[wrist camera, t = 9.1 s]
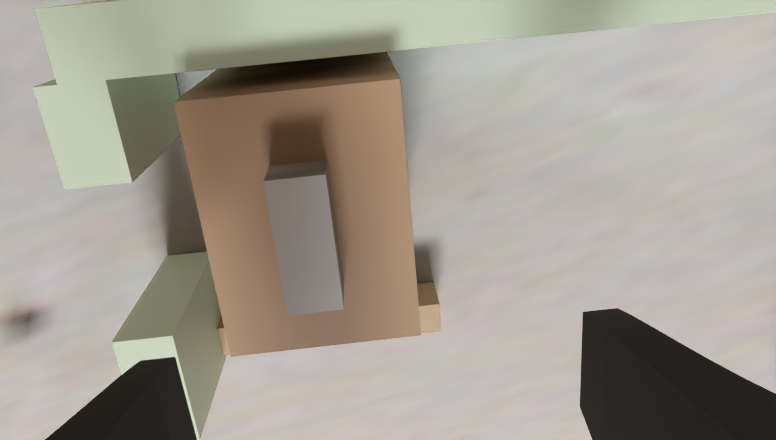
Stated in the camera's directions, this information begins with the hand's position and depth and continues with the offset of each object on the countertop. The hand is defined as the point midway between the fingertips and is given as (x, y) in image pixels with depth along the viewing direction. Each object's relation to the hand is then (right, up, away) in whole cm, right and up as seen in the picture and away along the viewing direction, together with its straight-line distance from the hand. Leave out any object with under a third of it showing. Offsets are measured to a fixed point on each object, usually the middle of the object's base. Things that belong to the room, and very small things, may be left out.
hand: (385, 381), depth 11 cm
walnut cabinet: (-2, +5, +8) cm, 10 cm away
